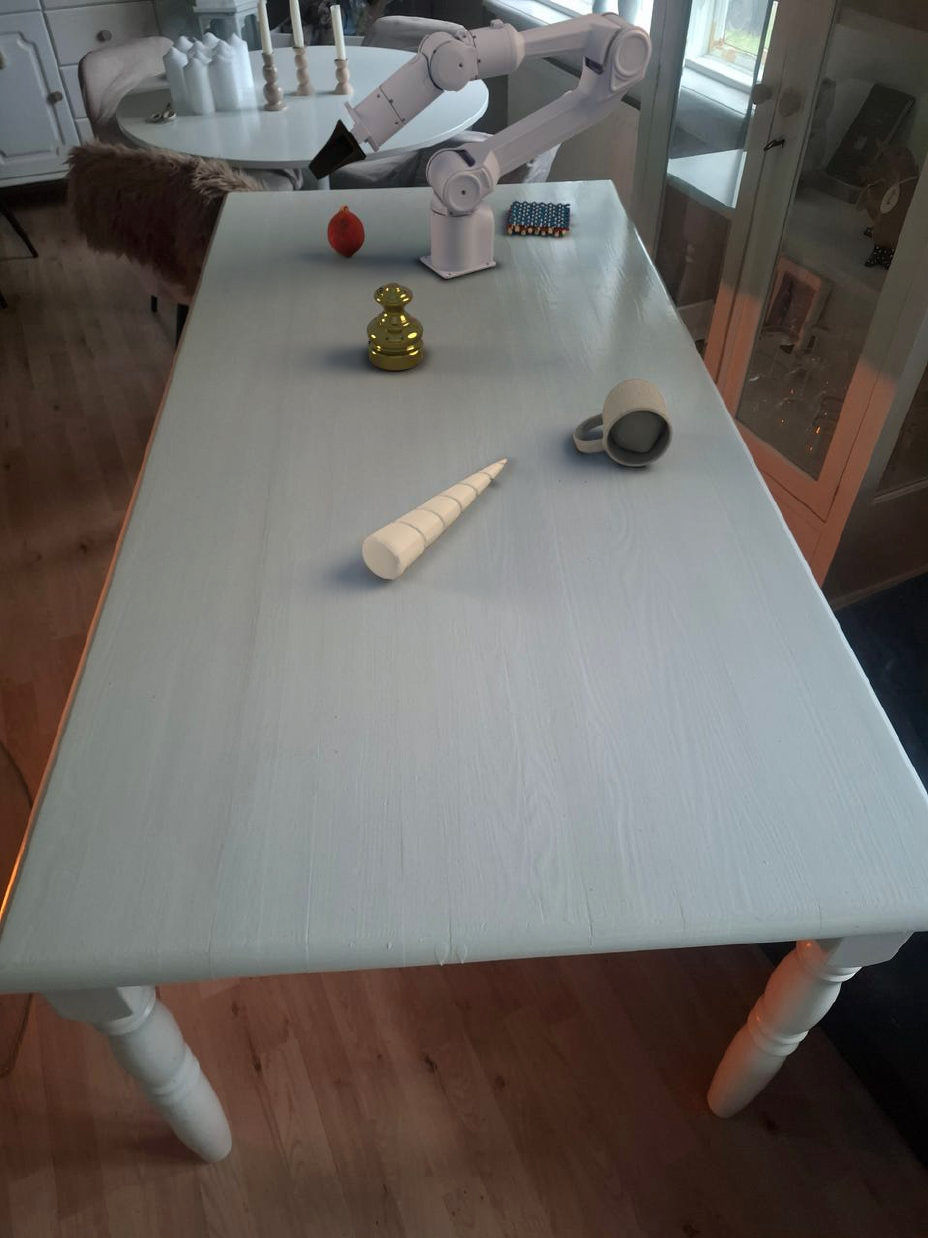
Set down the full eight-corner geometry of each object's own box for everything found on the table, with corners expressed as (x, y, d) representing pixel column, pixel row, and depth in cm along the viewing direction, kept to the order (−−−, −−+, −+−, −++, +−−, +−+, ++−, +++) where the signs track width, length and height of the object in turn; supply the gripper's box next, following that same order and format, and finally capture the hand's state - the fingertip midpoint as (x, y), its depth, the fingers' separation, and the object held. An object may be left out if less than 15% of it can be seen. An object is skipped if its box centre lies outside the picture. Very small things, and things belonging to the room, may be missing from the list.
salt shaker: (410, 339, 119) (408, 268, 112) (432, 365, 115) (431, 292, 107) (360, 350, 117) (355, 278, 110) (380, 376, 112) (376, 303, 105)
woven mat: (509, 210, 151) (509, 198, 150) (569, 213, 151) (571, 201, 149) (505, 234, 144) (505, 222, 143) (568, 238, 143) (570, 225, 142)
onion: (360, 267, 135) (356, 214, 129) (324, 263, 135) (319, 210, 130) (370, 251, 139) (367, 200, 133) (335, 248, 139) (331, 196, 134)
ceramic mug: (657, 428, 105) (668, 371, 100) (666, 468, 99) (678, 410, 94) (570, 426, 105) (576, 370, 100) (574, 467, 100) (581, 409, 94)
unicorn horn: (533, 475, 98) (536, 440, 95) (396, 590, 85) (394, 553, 82) (499, 460, 100) (501, 424, 97) (360, 569, 87) (357, 533, 84)
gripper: (372, 81, 122) (298, 144, 125) (373, 74, 109) (291, 146, 112) (402, 127, 125) (330, 189, 128) (407, 127, 112) (326, 194, 115)
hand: (314, 172), depth 120 cm, fingers open, 7 cm apart
